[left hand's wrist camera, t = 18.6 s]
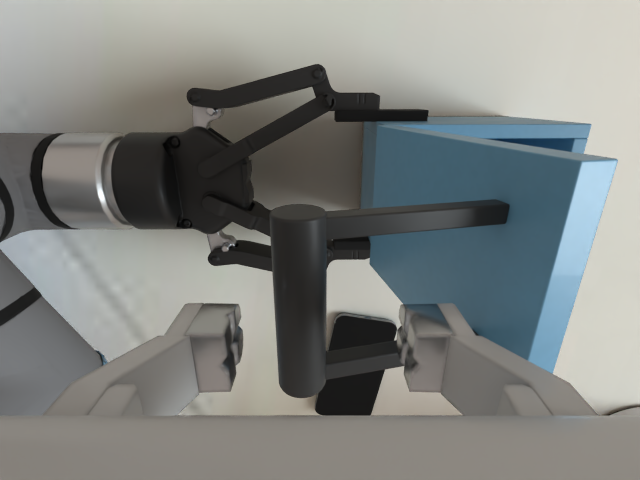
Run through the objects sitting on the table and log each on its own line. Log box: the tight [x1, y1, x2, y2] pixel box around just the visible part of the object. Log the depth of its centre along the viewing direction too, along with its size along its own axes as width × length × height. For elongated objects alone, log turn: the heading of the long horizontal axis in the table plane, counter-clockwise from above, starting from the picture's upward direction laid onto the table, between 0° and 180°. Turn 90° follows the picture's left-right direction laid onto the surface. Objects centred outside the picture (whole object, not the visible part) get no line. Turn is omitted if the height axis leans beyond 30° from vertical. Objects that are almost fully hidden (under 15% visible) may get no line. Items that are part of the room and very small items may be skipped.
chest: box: [360, 116, 591, 243], centre depth 29 cm, size 13×9×11 cm
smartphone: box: [315, 313, 397, 416], centre depth 42 cm, size 7×1×15 cm
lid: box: [269, 125, 618, 398], centre depth 16 cm, size 14×9×9 cm
